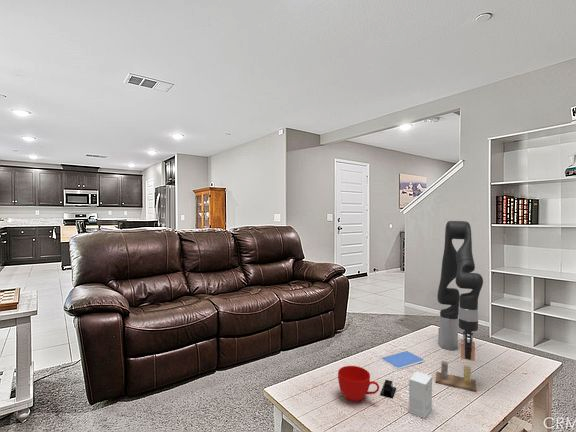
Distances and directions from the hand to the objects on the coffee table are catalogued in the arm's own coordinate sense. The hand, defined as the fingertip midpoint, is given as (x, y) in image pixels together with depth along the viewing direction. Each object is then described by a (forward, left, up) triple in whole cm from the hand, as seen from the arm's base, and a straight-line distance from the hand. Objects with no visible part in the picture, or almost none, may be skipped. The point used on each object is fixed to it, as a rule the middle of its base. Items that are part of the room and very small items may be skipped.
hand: (467, 356), depth 144 cm
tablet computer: (-28, -12, -14) cm, 34 cm away
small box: (+9, -32, -13) cm, 36 cm away
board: (-3, -3, -13) cm, 14 cm away
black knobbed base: (-6, -36, -14) cm, 39 cm away
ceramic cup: (-5, -51, -13) cm, 53 cm away
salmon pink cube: (0, 0, -1) cm, 1 cm away
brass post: (0, 0, -13) cm, 13 cm away
